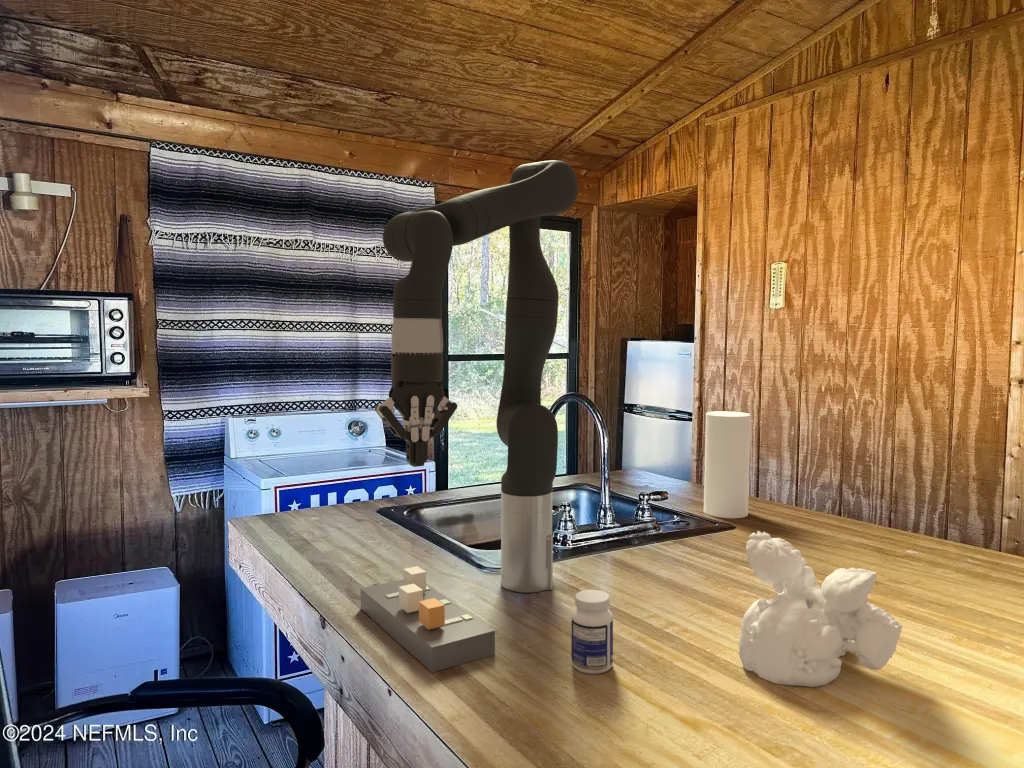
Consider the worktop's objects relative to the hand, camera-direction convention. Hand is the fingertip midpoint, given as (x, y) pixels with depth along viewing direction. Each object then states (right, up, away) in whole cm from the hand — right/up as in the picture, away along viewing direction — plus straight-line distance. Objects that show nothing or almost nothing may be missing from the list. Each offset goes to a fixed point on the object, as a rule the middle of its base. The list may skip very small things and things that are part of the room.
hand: (416, 465), depth 108 cm
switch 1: (-2, -21, +10) cm, 24 cm away
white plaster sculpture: (+56, -27, -7) cm, 63 cm away
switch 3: (+3, -22, -4) cm, 23 cm away
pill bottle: (+25, -27, -8) cm, 38 cm away
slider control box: (-1, -25, +6) cm, 26 cm away
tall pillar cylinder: (+68, -20, +73) cm, 102 cm away
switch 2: (-1, -22, +2) cm, 22 cm away
